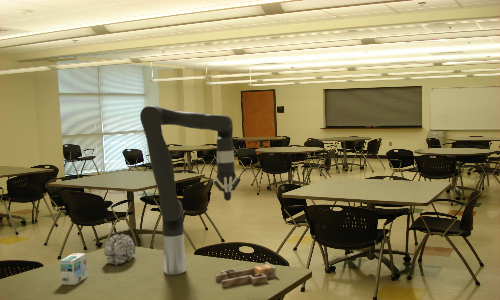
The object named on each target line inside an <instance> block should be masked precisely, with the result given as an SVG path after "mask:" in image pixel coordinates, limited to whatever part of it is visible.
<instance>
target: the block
mask: <svg viewBox="0 0 500 300" xmlns="http://www.w3.org/2000/svg"><path fill="white" fill-rule="evenodd" d="M253 268H254V271H255V274H254V276H255V275H256V274H258V273H262V272H268V271H272V267H270V266H269V265H267V264H266V265H265V264H261V265H256V266H254V267H253Z"/></svg>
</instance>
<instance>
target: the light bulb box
mask: <svg viewBox="0 0 500 300" xmlns="http://www.w3.org/2000/svg"><path fill="white" fill-rule="evenodd" d="M87 259H88V257H87V253H81V252H80V253H76V252H75V253H74V252H73V253H71V254H70V255H68V256H65V257H64V258H61V259H60V260H59V265H60V266H59V267H60V278H61V285H69V286H71V285H74V286H75V285H77V284H79V283H80V282H82V281H84V280H85V279H87V278H89V276H88V275H89V273H88V261H87Z"/></svg>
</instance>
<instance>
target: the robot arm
mask: <svg viewBox="0 0 500 300" xmlns="http://www.w3.org/2000/svg"><path fill="white" fill-rule="evenodd" d="M139 117H140V122H141V125H142V128H143V132H144V135H145V139H146V143H147V144H146V145H147V149H148V153H149V160H150V166H151V169H152V174H153V177H154V181H155V185H156V187H157V192H158V197H159V205H160V206H159V207H160V208H159V209H160V214H161V216H162V217H161V218H162V240H163V241H162V245H163V250H162V262H163V272H164V273H165V274H166V275H167V276H168V275H169V276H173V275H180V274H183V273H185V272H186V269H187V268H186V267H187V266H186V254H185V253H186V251H185V233H184V213H183V211H184V210H183V209H184V208H183V204H182V202H181V201H180V200H179V198H178V195H177V191H176V187H175V186H176V185H175V183H176V182H175V170H174V162H173V158H172V155H171V151H170V148H169V147H168V145H167V143H166V140H165V139H164V135H163V130H162V126H167V125H169V126H170V125H172V126H179V127H184V128H189V129H196V130H207V131H208V130H210V131H214V132H217V139H216V164H217V165H216V166H217V167H216V169H217V173H216V174H217V175H216V178H215V179H213V180H211V181H212V183H213V185H214V186H215V187H216V188H217V189H218V191H220V192H223V199H224V200H225V201H226V202H227V201H229V202H230V201H231V199H232V192H233V191H235V190H236V188H237V186H238V185H239V183H240V182H241V178H240V177H237V174H236V173H235V172H236V171H235V154H234V143H233V134H234V133H233V131H234V129H233V128H234V125H233V120H232V118H231V117H230V116H228V115H226V114H224V115H220V114H209V113H203V112H193V111H179V110H177V111H176V110H171V109H167V108H164V107H161V106H158V105H147V106H145V107H143V108H142V109H141V112H140V116H139ZM219 183H220V184H219Z"/></svg>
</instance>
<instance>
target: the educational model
mask: <svg viewBox="0 0 500 300" xmlns="http://www.w3.org/2000/svg"><path fill="white" fill-rule="evenodd" d="M104 245H105V246H104V250H103V253H104V256H105V257H106V258H105V259H106V260H107V261H106V262H107V263H108V264H111V265H113V264H114V265H116V266H117V265H118V264H119V265H120V264H124V263H125V262H126V261H129V262H131V260H132V259H133V256H134V255H135V254H136V245H135V242H134V240H133V238H132V237H130V236H128V235H127V234H124V233H121V234H118V233H115V234H114V235H112V236H111V237H110V238H109V239H107V240H106V242H105V244H104Z"/></svg>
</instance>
